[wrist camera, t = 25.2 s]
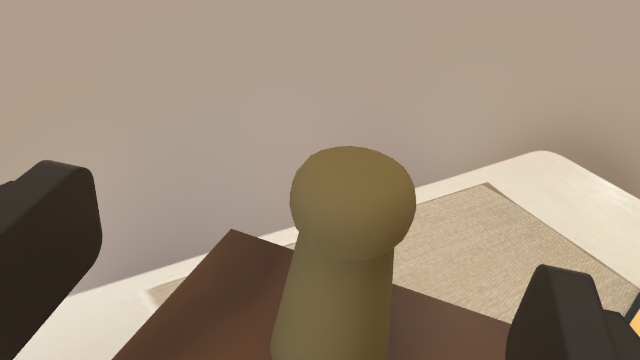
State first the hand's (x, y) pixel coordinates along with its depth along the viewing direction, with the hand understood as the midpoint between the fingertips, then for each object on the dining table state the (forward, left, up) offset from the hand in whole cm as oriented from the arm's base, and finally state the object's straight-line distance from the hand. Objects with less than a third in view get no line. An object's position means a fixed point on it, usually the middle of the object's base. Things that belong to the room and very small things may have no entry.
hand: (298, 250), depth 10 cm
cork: (-2, +11, -16) cm, 19 cm away
